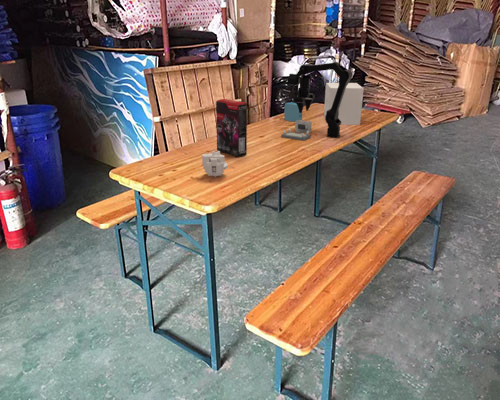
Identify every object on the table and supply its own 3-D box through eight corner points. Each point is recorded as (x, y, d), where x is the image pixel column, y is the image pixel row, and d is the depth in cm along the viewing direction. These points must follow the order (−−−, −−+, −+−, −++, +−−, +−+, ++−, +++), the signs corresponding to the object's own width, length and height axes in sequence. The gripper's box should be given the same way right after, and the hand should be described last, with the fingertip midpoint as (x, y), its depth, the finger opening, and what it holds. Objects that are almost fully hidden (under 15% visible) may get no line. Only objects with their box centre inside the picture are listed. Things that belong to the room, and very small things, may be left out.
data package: (302, 121, 304) (302, 104, 299) (298, 122, 300) (299, 105, 296) (287, 119, 311) (288, 102, 306) (284, 120, 307) (284, 102, 303)
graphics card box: (215, 151, 236) (214, 100, 225) (225, 148, 240) (224, 98, 230) (238, 157, 225) (238, 104, 214) (247, 155, 230) (248, 102, 219)
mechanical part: (228, 171, 205) (228, 147, 200) (226, 180, 193) (226, 155, 189) (204, 171, 205) (203, 147, 200) (201, 180, 194) (200, 154, 189)
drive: (310, 132, 275) (311, 121, 272) (307, 134, 271) (308, 122, 269) (298, 130, 279) (298, 119, 277) (294, 132, 276) (295, 121, 273)
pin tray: (310, 137, 263) (310, 130, 262) (303, 140, 256) (304, 134, 255) (288, 134, 271) (288, 127, 269) (281, 137, 264) (281, 130, 262)
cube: (323, 117, 319) (326, 82, 310) (353, 117, 318) (356, 83, 309) (327, 125, 296) (330, 88, 286) (359, 125, 295) (363, 88, 286)
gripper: (299, 83, 276) (298, 108, 282) (285, 87, 261) (285, 113, 267) (315, 84, 271) (314, 109, 276) (302, 88, 256) (301, 115, 262)
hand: (303, 111), depth 271 cm, fingers open, 9 cm apart
